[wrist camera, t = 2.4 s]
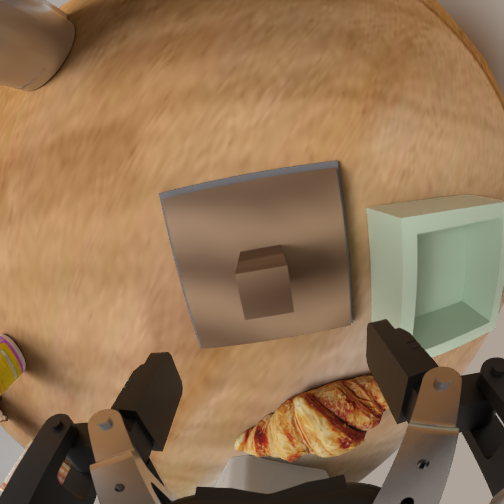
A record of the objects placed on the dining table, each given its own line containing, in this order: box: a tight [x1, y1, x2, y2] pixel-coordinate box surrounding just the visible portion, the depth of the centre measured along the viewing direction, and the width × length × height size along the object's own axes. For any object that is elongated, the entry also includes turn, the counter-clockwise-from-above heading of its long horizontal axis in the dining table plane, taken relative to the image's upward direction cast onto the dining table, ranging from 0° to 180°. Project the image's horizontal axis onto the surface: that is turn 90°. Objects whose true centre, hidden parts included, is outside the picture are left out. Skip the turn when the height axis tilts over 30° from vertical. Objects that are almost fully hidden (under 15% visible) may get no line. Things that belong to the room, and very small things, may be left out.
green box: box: [366, 194, 504, 358], centre depth 19 cm, size 12×12×6 cm
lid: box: [162, 167, 351, 349], centre depth 19 cm, size 13×13×6 cm
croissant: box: [234, 375, 390, 462], centre depth 24 cm, size 21×10×8 cm, turn 120°
